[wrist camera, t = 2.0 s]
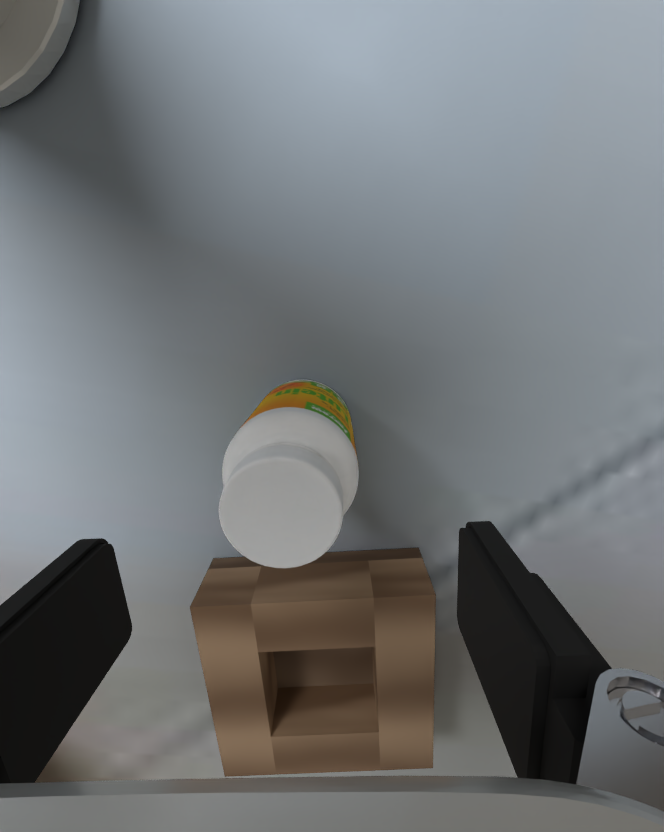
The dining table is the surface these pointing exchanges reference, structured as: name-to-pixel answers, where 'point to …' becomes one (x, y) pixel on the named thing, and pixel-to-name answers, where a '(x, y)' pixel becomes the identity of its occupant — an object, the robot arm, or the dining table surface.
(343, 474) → the supplement bottle
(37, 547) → the dining table surface
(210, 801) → the robot arm
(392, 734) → the socket block
